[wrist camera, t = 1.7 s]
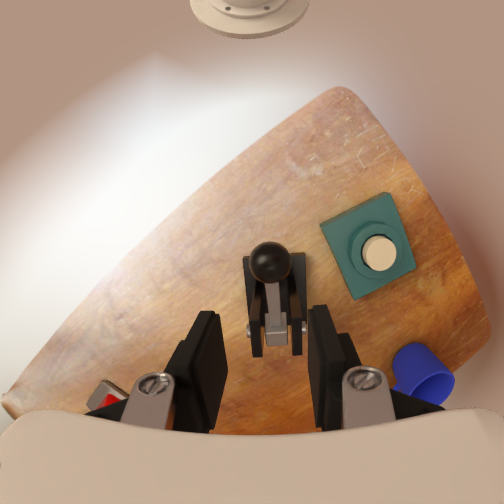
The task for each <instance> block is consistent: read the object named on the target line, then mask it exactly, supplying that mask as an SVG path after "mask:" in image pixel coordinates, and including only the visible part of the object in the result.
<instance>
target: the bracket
mask: <svg viewBox="0 0 504 504" xmlns="http://www.w3.org/2000/svg"><path fill="white" fill-rule="evenodd" d="M289 254H290V257H291V268H290V271H289V273H288V275H287V276H286V277H285V278H284V279H283V280H281V281H280V282H279V291H280V306H281V313H282V312H286V313H287V325H290V331H291V343H292V355H293V356H296V355H302V335H306V324H307V297H306V264H305V253H289ZM249 258H250V256H244V257H243V266H244V276H245V286H246V296H247V306H248V315H249V324H247V328H246V331H247V337H248V338H251V345H252V355H253V357H263V345H264V331H265V313H269V312H268V304H267V296H266V288H265V283H263V282H260V281H259V280H257V279H256V278H255V277H254V276H253V274H252V273H251V270H250V267H249Z"/></svg>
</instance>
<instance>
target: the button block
mask: <svg viewBox="0 0 504 504" xmlns="http://www.w3.org/2000/svg"><path fill="white" fill-rule="evenodd" d="M320 227H321V229H322V231H323V233H324V236H325V238H326V240H327V242H328V244H329V246H330V248H331V251H332V253H333V255H334V257H335V259H336V262H337V264H338V266H339V268H340V271H341V273H342V275H343V278H344V280H345V282H346V285H347V287H348V289H349V292H350V294H351V296H352V297H353V299H354V300H357V299H359V298H361V297H363V296H365V295H367V294H368V293H370V292H372V291H374V290H376V289H378V288H380V287H382V286H384V285H386V284H388V283H389V282H391V281H393V280H395V279H397V278H399V277H401V276H402V275H404V274H406V273H408V272H410V271H411V270H413V269H415V268H417V267H416V263H415V260H414V257H413V254H412V251H411V248H410V245H409V242H408V239H407V236H406V233H405V230H404V227H403V225H402V222H401V219H400V217H399V214H398V211H397V209H396V206H395V204H394V201H393V199H392V196H391V194H390V193H387V192H383V193H381V194H379V195H377V196H375V197H373V198H371V199H369V200H367V201H365V202H363V203H361V204H359V205H357V206H355V207H353V208H351V209H349V210H347V211H345V212H343V213H341V214H339V215H337V216H335V217H333V218H331V219H329V220H327V221H325V222H323V223H321V224H320ZM373 236H383V237H385V238H387V239H389V240H390V241H391V242H392V243H393V244H394V245H395V248H396V258H395V261H394V263H393V264H392V265H391V266H390V267H389V268H388V269H386V270H383V271H376V270H373V269H372V268H371V267H370V266H369V265H368V264H367V263H366V262H365V261H364V259H363V255H362V250H363V246H364V244H365V243H366V241H367V240H368V239H369V238H371V237H373Z"/></svg>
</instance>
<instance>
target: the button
mask: <svg viewBox="0 0 504 504" xmlns="http://www.w3.org/2000/svg"><path fill="white" fill-rule="evenodd" d="M362 255H363V259H364V261H365V262H366V263H367V264H368V265H369V266H370V267H371V268H372V269H373V270H376V271H383V270H386V269H388V268H389V267H390V266H391V265H392V264H393V263H394V261H395V258H396V248H395V245H394V244H393V243H392V242H391V241H390V240H389V239H387V238H385V237H383V236H373V237H371V238H369V239H368V240H367V241H366V243H365V244H364V246H363V250H362Z"/></svg>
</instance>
